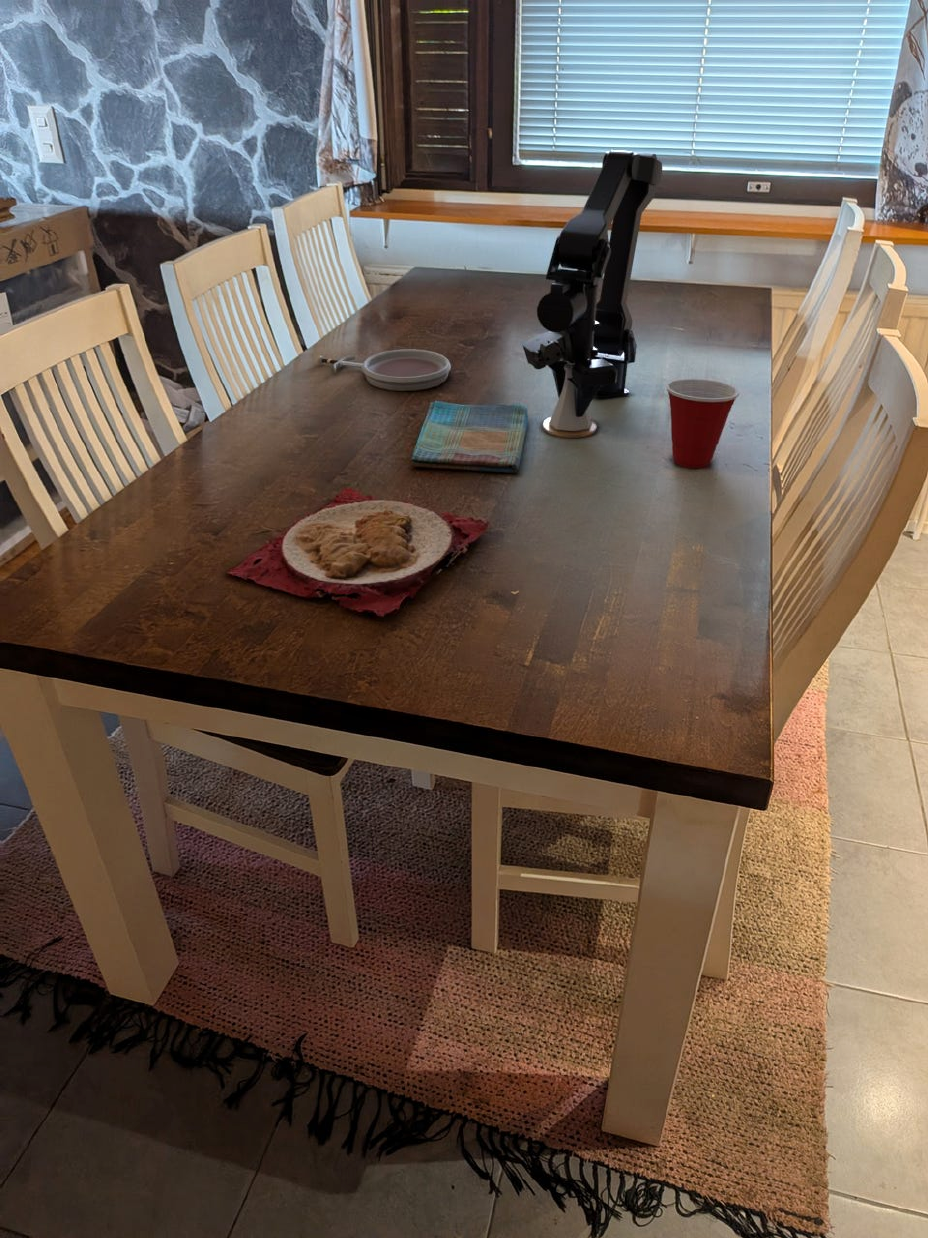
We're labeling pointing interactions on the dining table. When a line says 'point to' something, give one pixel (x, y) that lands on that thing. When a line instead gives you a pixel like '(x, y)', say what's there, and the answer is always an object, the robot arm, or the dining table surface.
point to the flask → (568, 408)
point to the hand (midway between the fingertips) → (571, 409)
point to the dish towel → (472, 437)
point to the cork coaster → (569, 434)
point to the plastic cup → (698, 418)
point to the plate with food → (361, 551)
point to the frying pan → (400, 369)
